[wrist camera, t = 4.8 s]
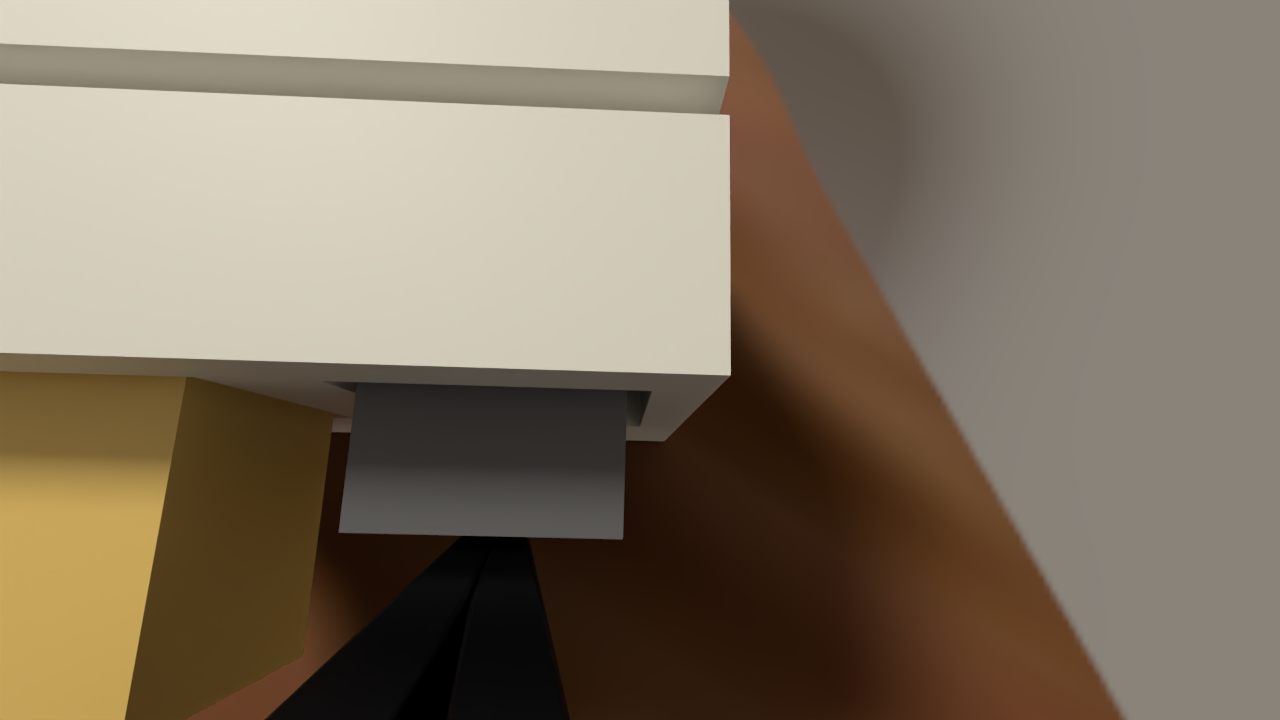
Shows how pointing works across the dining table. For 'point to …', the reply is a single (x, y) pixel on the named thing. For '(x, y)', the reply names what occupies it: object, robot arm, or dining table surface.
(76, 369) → the console
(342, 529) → the charcoal button
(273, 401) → the amber button
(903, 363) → the dining table surface
